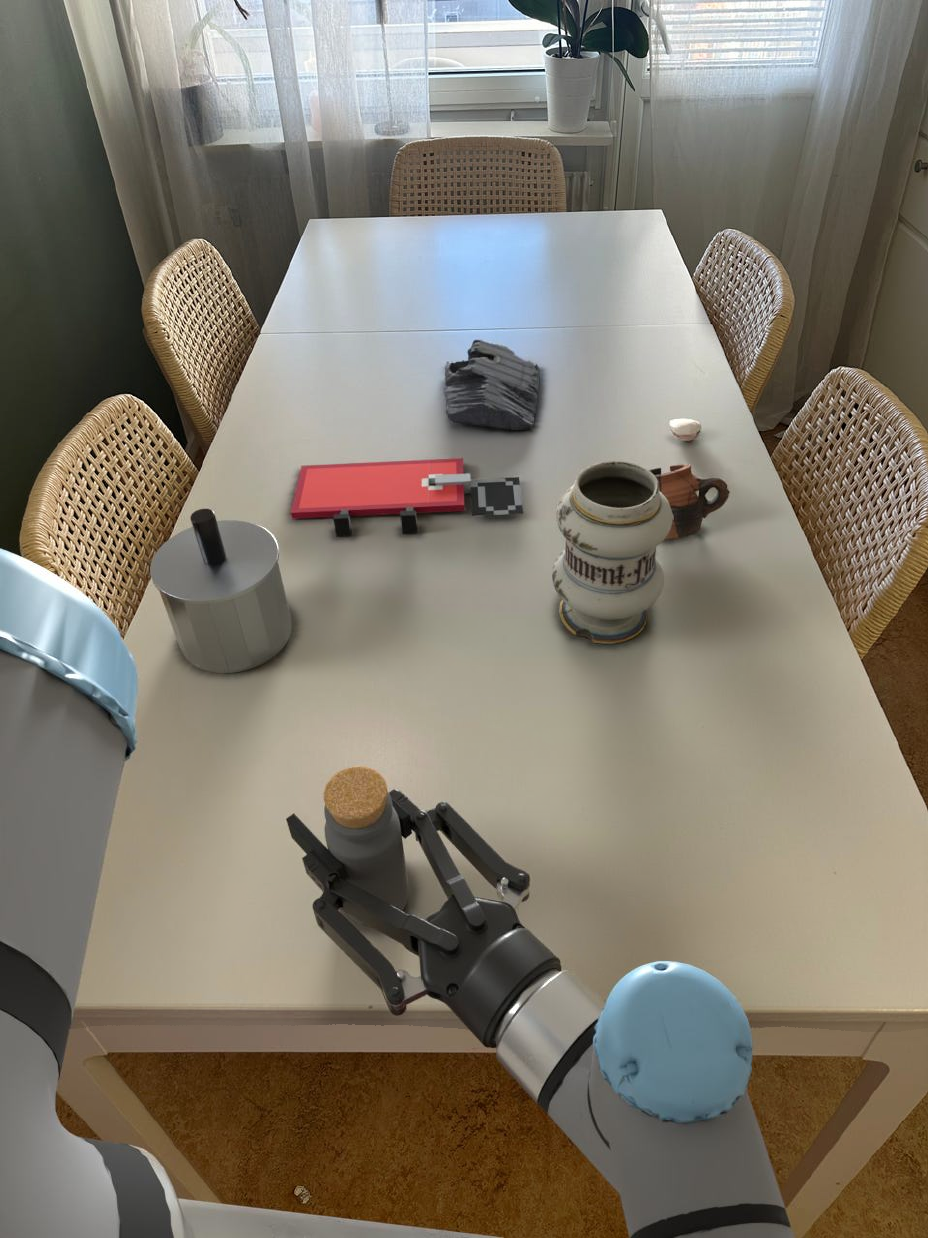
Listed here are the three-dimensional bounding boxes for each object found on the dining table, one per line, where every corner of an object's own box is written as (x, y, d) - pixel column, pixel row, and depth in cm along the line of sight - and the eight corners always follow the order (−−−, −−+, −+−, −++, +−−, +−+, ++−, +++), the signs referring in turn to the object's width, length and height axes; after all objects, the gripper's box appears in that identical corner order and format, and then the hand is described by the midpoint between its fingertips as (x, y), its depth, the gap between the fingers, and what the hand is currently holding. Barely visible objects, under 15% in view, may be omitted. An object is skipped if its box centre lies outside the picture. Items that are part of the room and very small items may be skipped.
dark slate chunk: (431, 433, 128) (430, 404, 124) (447, 362, 144) (446, 335, 140) (536, 435, 126) (537, 406, 123) (540, 364, 142) (541, 336, 139)
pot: (164, 669, 94) (136, 597, 87) (202, 593, 103) (180, 522, 96) (274, 677, 93) (255, 605, 86) (304, 599, 102) (289, 528, 94)
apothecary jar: (533, 632, 97) (538, 500, 84) (572, 568, 104) (582, 438, 92) (638, 665, 93) (659, 531, 80) (670, 596, 100) (694, 464, 88)
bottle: (408, 861, 76) (394, 756, 66) (410, 924, 72) (395, 822, 62) (342, 866, 76) (317, 762, 66) (339, 929, 72) (312, 828, 61)
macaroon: (684, 447, 123) (687, 432, 121) (658, 433, 126) (661, 417, 124) (705, 437, 125) (708, 422, 123) (679, 423, 128) (682, 408, 126)
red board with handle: (524, 528, 110) (516, 464, 121) (524, 509, 108) (516, 446, 119) (288, 538, 110) (303, 474, 121) (284, 520, 108) (299, 456, 120)
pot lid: (132, 604, 87) (112, 553, 83) (179, 524, 97) (163, 474, 92) (259, 612, 86) (245, 561, 81) (294, 530, 95) (284, 480, 91)
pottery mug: (638, 547, 108) (626, 482, 106) (637, 533, 117) (625, 472, 114) (738, 528, 105) (727, 461, 103) (729, 514, 114) (719, 452, 112)
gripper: (427, 1134, 57) (236, 898, 69) (614, 942, 66) (415, 764, 78) (420, 1093, 51) (215, 846, 64) (624, 892, 60) (410, 710, 73)
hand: (326, 802), depth 71 cm, fingers closed on bottle, 6 cm apart
